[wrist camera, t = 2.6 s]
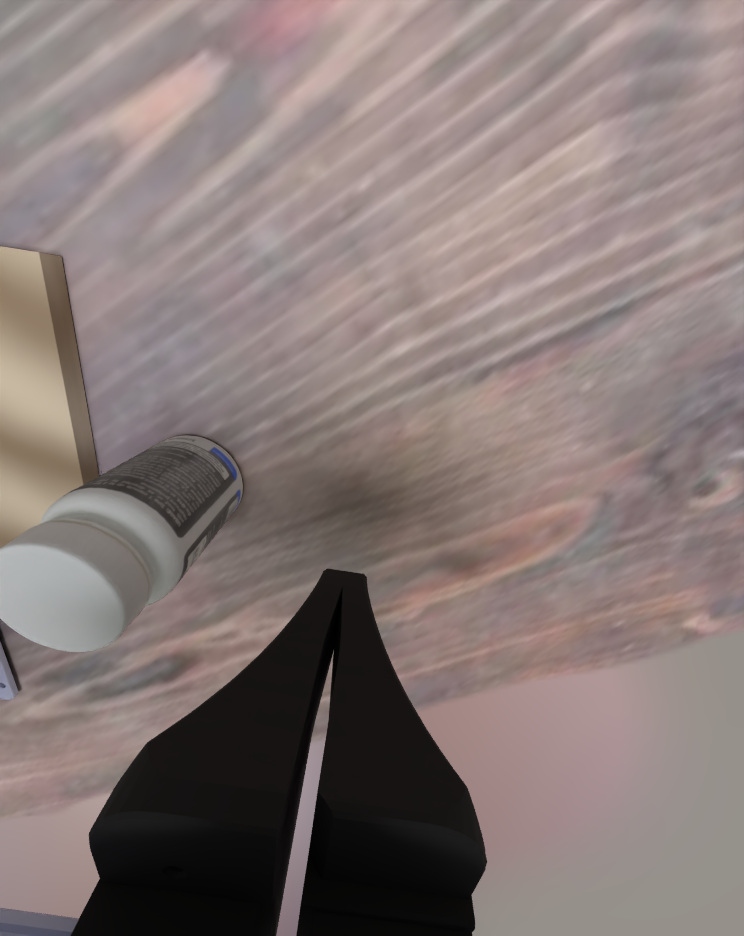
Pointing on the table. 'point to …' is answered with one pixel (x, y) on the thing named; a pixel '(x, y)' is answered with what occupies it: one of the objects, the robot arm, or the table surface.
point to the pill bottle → (117, 544)
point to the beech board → (39, 393)
